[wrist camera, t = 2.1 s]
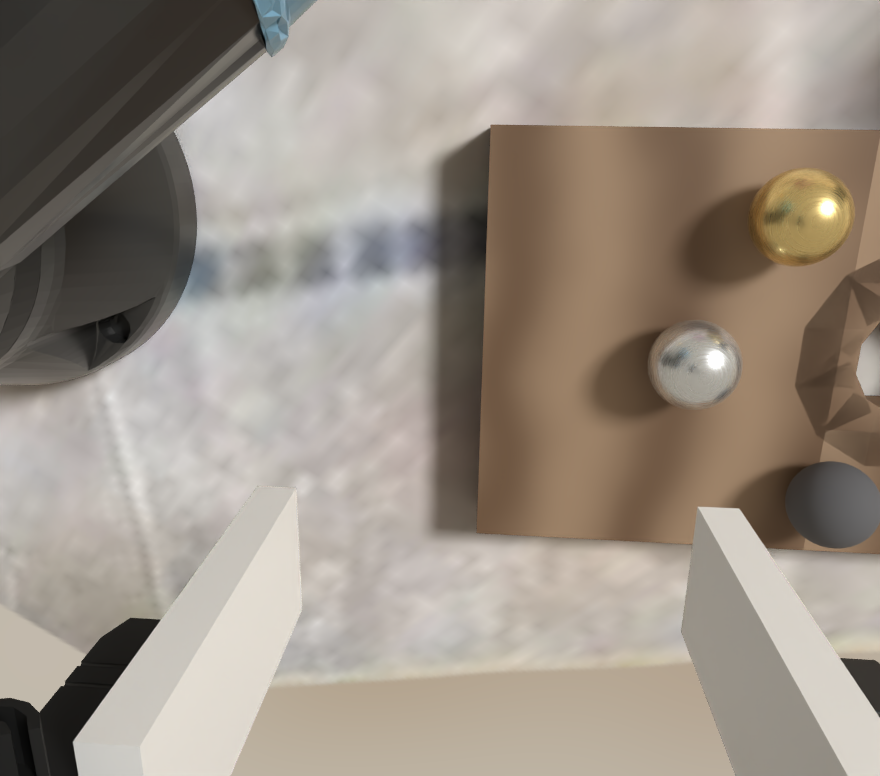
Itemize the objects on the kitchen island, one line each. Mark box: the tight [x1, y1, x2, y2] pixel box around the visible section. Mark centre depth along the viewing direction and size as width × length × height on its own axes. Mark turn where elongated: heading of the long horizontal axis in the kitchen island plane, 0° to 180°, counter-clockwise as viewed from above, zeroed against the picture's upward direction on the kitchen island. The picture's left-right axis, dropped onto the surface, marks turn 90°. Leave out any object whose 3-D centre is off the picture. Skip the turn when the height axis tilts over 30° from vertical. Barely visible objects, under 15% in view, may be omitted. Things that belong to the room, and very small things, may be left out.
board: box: [477, 125, 880, 554], centre depth 31 cm, size 22×17×2 cm
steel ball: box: [647, 320, 743, 410], centre depth 28 cm, size 3×3×3 cm
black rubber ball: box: [785, 461, 880, 549], centre depth 29 cm, size 3×3×3 cm
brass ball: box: [748, 167, 855, 267], centre depth 26 cm, size 3×3×3 cm
